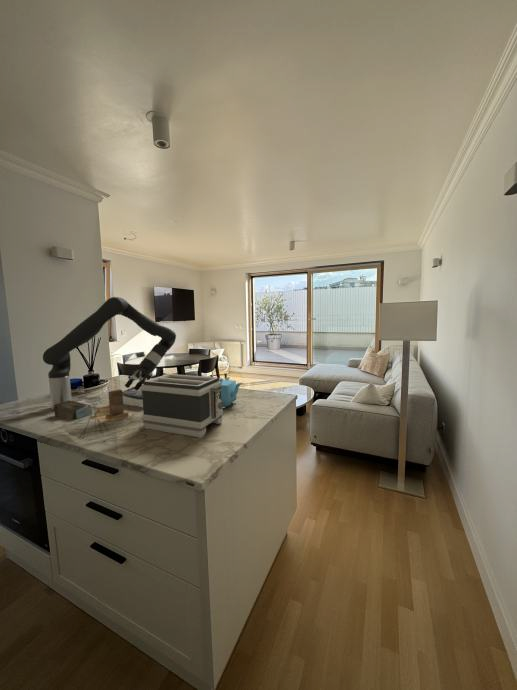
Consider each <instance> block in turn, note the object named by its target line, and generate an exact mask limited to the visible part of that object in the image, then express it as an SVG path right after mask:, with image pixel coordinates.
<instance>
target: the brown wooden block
mask: <svg viewBox="0 0 517 690" xmlns="http://www.w3.org/2000/svg"><path fill="white" fill-rule="evenodd" d="M122 392H123V390H122V389H115V390H110V391H108V392H107V393H108V404H109V407H110V417H112V416H116V415H119V414H123V413H124V412H125V411H124V404H123V394H122Z"/></svg>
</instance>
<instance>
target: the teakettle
mask: <svg viewBox="0 0 517 690" xmlns="http://www.w3.org/2000/svg"><path fill="white" fill-rule="evenodd" d="M218 378H219V381H220V382H221V383H222V385H221V389H222V391H221V402H222V403H223V407H226V406H227V407H229V406H230V405H232V404H233V403H234V402H235V401H236V400H237V394H238V392H239V388H240V386H241V385H243V384H244V382H237V380H234V379H233V380H230V376H227V377H226V378H225V379H224V378H223V377H218ZM231 403H232V404H231Z"/></svg>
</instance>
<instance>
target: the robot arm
mask: <svg viewBox="0 0 517 690" xmlns="http://www.w3.org/2000/svg"><path fill="white" fill-rule="evenodd" d="M117 315H119V316H120V315H121V316H123V317H125V318H127V319H129V320H131V321H132V322H133V323H135V324H136V326H138V327H139V328H140V329H142V330H143V331H145V332H146V333H148V334H150V335H151V336H153V337H159V338H161V339H160V340H159V342H158V343H156V344H155V345H154V346H153V347H152V348H151V349H150V350H149V352H148V353H147V354H146V355H145V356H144V357H143V359H142V360H141V361H140V363H139V365H138V367H139V368H138V369H137V368H134V369H133V370H132V371H131V373H130V374H129V375H128V376H127V379H128V380H127V381H126V383H125V384H124V387H125V388H127V389H130V388H131V386H132V384H133V383H134V382H135V381H136V380H138V382H137V383H136V384H135V386H133V387H134V389H135V390H137V391H138V390H139V388H140V387H141V386H142V385H144V384H143V381H146V380H150V379H152V377H153V375H154V373H153V372H154V371H155V370H156V368H157V367H158V366H159V364H160V363H161V360H162V359H163V358H164V357H165V355H166V353H167V352H168V351H169V350H170V349H171V348H172V346H174V344H175V342H176V339H177V335H176V332H175V331H174V330H172V329H171V328H169V327H167V326H164V325H161V324H159V323H158V322H156V320H155V321H154V320H153V319H151V318H149V317H148V316H146V315H145V314H143V313H142V312H140V311H139V310H137V309H136V308H135V307H134V306H132V305H131V304H130V302H128V301H127V300H126V299H124V298H122V297H117V296H112V297H109V298H108V299H107V300H105V302H104V303H103V304H102V305H100V307H99V308H98V309H97V310H96V311H94V312H93V313H92V314H91V315H89V316H88V317H87V318H86V319H84V320H83V321H81V322H80V323H79V324H78V325H76V327H74V328H73V329H72V330H71V331H70V332H69V333H67V334H66V335H65V336H64V337H63V338H62V339H61V340H59V341H58V342H56V343H55V344H53V345H51V346H50V347H48V348H47V349H46V350H45V351H44V352H43V354H42V360H43V362H44V363H45V364H47V365H50V366H52V367H51V369H50V370H49V371H48V383H49V384H48V385H49V395H50V396H49V397H50V406H51V407H50V408H51V410H52V411H53V410H54V405H55V404H59V403H62V402H66V401H69V400H70V401H73V400H72V399H73V398H72V390H71V389H72V388H71V380H70V379H71V378H70V372H71V354H70V352H72V351H73V350H74V349H77V348H79V347H81V346H83V345H84V344H86V343H87V342H89V341H91V340H92V339H93V338H95V336H97V335H98V334H99V332H100V331H101V330H102V328H103V326H105V324H106V323H107V322H108V321H110V320H111V319H112V318H114V317H116V316H117Z"/></svg>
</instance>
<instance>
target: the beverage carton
mask: <svg viewBox="0 0 517 690" xmlns="http://www.w3.org/2000/svg"><path fill="white" fill-rule="evenodd" d="M92 407H93V406H92V405H90V404H86V403H81V402H77V401H73V400H72V401H70V400H69V401H66V402H62V403H59V404H55V405H54V416H55V417H59V418H63V419H69V418H70V419H75V420H80V419H81V418H85V417H88V416H91V415H92V416H93V408H92Z"/></svg>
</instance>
